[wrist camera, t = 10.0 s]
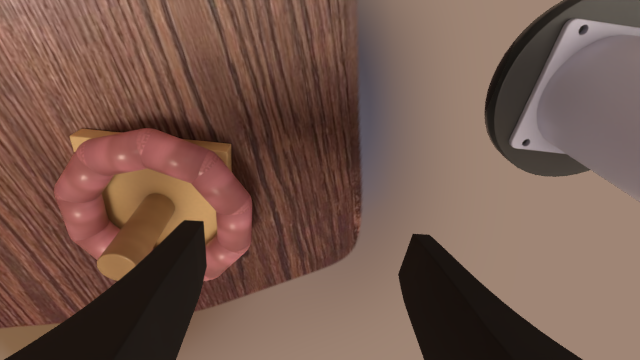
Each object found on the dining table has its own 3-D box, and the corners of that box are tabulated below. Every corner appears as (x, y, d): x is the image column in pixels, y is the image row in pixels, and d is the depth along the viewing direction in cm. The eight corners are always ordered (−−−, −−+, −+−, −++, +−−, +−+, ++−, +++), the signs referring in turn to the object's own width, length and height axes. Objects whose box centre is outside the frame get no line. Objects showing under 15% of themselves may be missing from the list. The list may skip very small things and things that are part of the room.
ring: (256, 132, 19) (250, 149, 17) (252, 274, 25) (247, 297, 23) (48, 110, 18) (16, 125, 16) (97, 263, 24) (79, 287, 22)
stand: (231, 143, 20) (200, 205, 15) (233, 247, 25) (210, 326, 19) (81, 127, 19) (-14, 187, 14) (111, 239, 24) (50, 318, 18)
